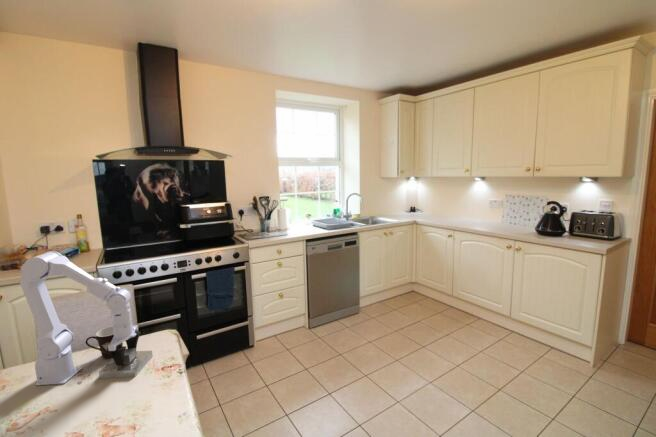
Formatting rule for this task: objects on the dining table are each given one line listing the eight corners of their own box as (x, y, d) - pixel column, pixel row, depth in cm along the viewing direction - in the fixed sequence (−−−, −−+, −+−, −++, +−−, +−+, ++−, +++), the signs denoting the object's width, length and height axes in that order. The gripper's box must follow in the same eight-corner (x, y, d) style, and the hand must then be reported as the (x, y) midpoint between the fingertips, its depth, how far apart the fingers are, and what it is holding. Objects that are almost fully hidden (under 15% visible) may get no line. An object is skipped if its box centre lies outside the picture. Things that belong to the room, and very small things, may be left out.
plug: (117, 371, 110) (115, 355, 109) (125, 363, 114) (123, 348, 113) (130, 370, 110) (129, 355, 109) (137, 363, 115) (135, 348, 114)
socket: (99, 378, 106) (98, 370, 106) (120, 358, 118) (119, 350, 117) (135, 376, 107) (134, 368, 106) (152, 356, 119) (151, 349, 118)
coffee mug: (130, 348, 124) (128, 325, 123) (114, 361, 116) (111, 336, 114) (104, 347, 125) (101, 324, 124) (86, 360, 117) (82, 335, 115)
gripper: (121, 332, 103) (126, 370, 105) (144, 313, 117) (148, 346, 119) (99, 333, 103) (104, 371, 104) (125, 314, 117) (129, 347, 119)
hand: (126, 358), depth 112 cm, fingers open, 7 cm apart
